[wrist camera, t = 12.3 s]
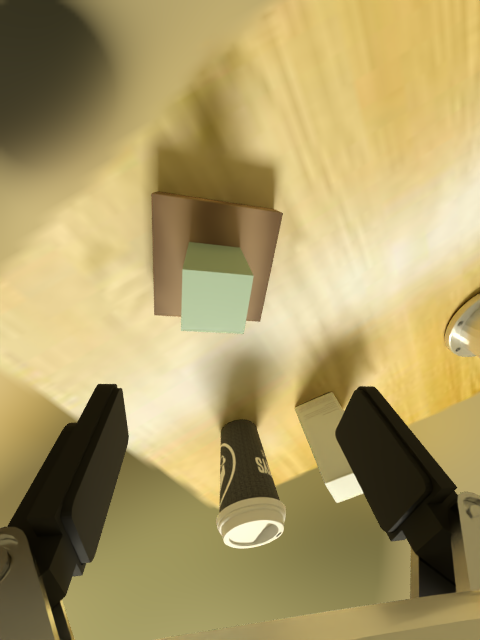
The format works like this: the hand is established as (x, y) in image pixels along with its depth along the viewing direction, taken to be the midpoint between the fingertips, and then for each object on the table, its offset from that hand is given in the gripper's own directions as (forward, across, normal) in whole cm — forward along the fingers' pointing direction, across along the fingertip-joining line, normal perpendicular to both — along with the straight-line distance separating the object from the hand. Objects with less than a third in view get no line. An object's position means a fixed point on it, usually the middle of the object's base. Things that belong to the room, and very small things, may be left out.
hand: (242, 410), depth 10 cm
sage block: (+18, +1, 0) cm, 18 cm away
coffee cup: (+22, -6, +31) cm, 38 cm away
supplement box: (+22, -20, +26) cm, 40 cm away
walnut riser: (+22, +1, 0) cm, 22 cm away
